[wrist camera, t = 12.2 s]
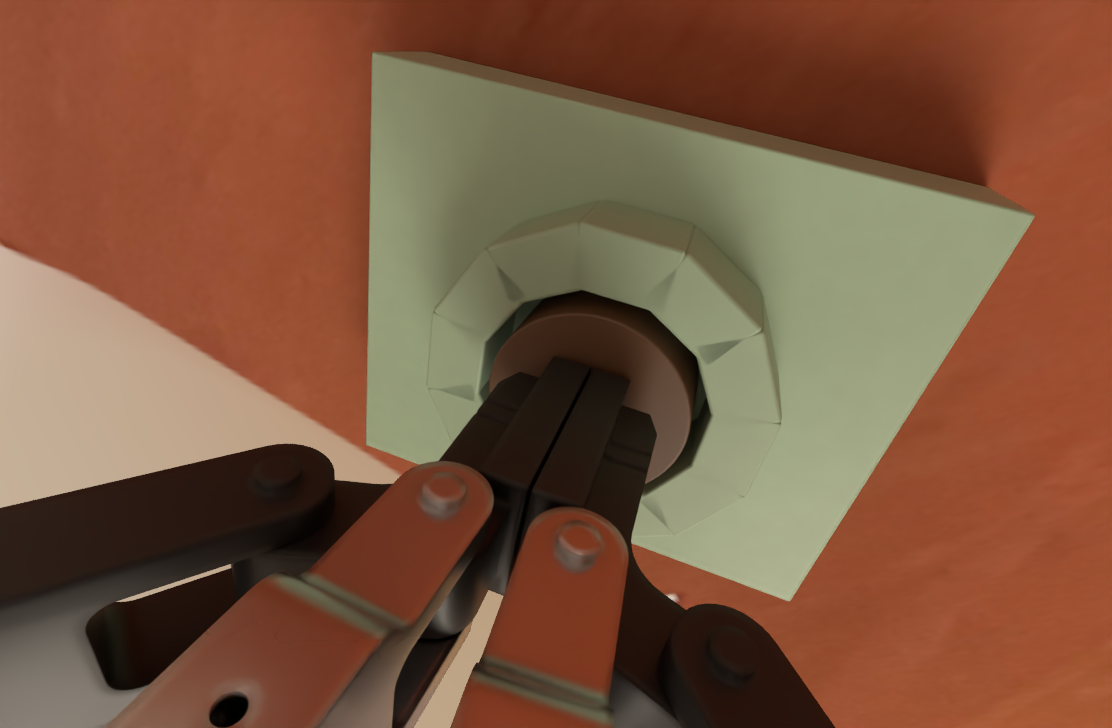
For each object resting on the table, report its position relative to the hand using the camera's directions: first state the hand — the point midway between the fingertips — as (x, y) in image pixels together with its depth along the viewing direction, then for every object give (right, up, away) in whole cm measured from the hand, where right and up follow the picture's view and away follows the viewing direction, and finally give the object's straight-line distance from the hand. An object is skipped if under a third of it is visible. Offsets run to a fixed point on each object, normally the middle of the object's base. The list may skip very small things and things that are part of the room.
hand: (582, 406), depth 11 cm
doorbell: (+1, +2, +4) cm, 4 cm away
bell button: (+1, +1, +2) cm, 2 cm away
